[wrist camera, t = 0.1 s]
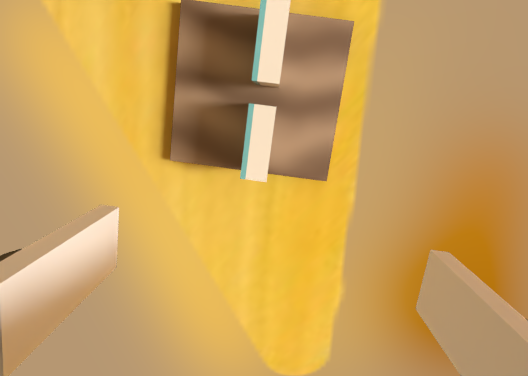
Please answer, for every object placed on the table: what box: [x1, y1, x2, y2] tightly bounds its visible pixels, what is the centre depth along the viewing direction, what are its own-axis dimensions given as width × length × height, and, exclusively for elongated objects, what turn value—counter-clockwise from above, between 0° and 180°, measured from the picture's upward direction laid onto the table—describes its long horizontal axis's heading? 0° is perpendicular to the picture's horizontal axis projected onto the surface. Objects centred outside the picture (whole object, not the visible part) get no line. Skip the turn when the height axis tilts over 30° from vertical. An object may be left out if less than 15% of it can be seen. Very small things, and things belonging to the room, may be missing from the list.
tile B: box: [240, 103, 277, 182], centre depth 37 cm, size 7×2×7 cm, turn 173°
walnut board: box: [170, 0, 354, 181], centre depth 40 cm, size 17×18×2 cm
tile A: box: [252, 0, 290, 88], centre depth 35 cm, size 7×2×7 cm, turn 173°
